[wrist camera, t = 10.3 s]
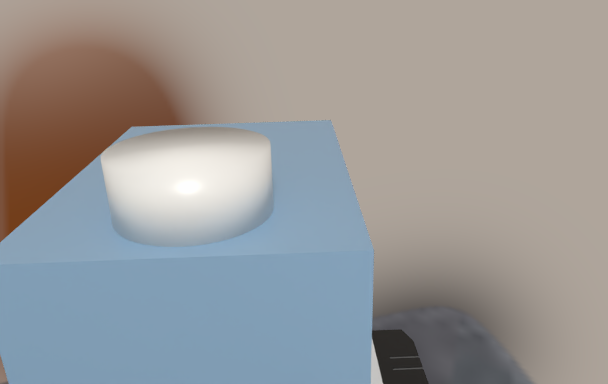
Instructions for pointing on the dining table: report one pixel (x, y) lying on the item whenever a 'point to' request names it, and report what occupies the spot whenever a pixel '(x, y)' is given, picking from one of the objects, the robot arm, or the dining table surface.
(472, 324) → the dining table surface
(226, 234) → the servo
